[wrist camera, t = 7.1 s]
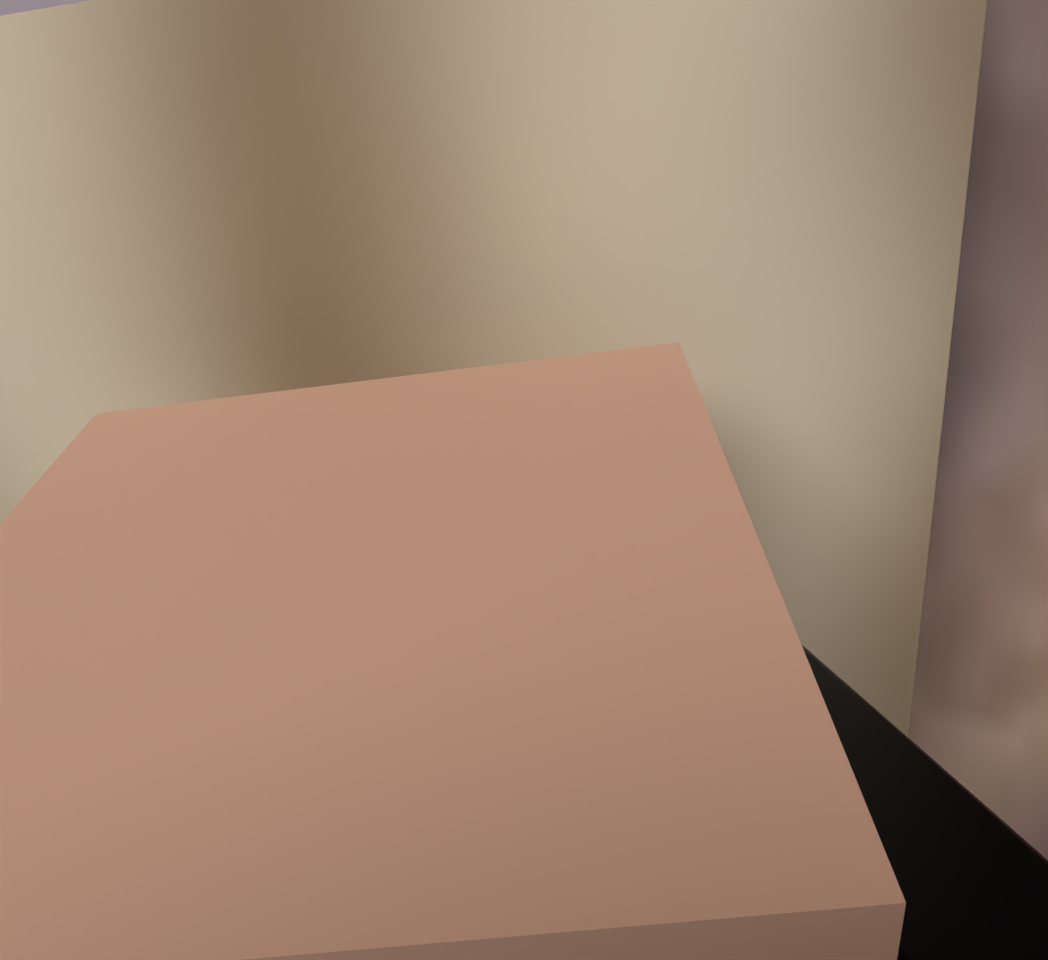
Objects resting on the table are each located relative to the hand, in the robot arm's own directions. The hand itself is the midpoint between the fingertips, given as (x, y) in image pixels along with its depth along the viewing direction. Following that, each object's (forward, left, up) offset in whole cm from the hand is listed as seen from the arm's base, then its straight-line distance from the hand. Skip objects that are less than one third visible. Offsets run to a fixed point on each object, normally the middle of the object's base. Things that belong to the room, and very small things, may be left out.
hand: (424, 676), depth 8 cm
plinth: (0, 0, -5) cm, 5 cm away
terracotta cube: (0, 0, -1) cm, 1 cm away
